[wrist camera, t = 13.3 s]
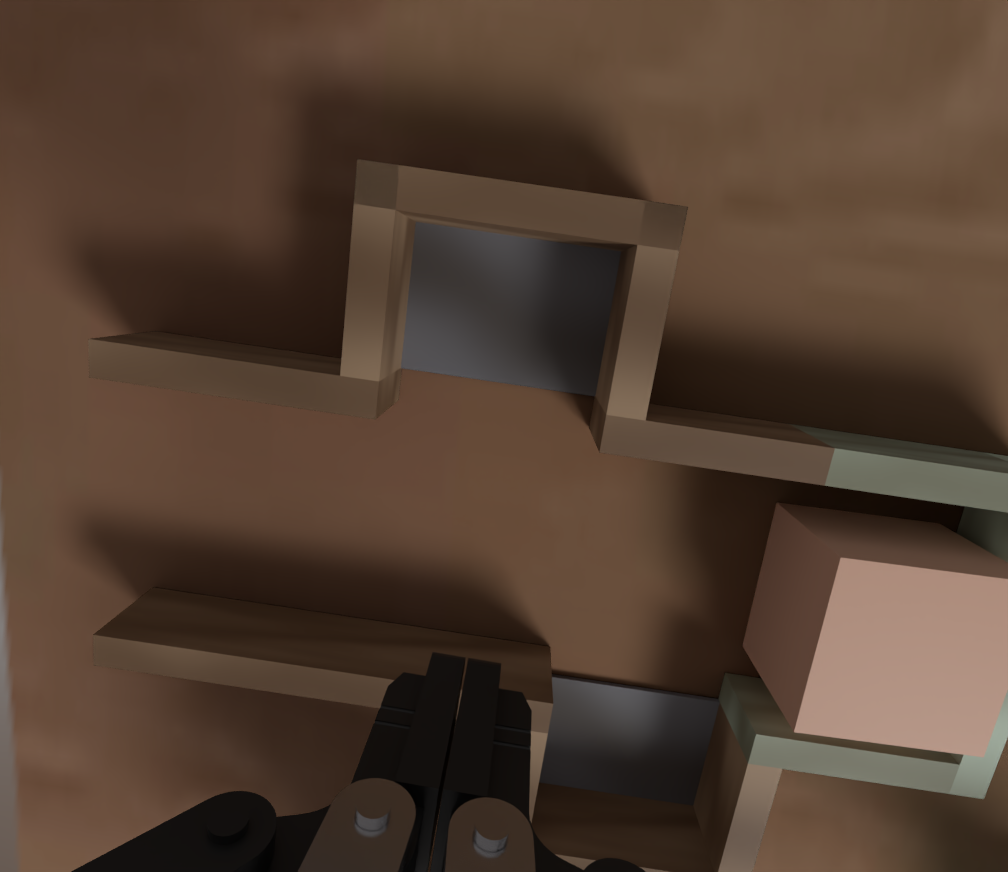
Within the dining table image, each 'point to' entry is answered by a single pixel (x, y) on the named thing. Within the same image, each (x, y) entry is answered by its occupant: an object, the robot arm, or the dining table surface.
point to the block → (881, 630)
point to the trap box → (616, 430)
